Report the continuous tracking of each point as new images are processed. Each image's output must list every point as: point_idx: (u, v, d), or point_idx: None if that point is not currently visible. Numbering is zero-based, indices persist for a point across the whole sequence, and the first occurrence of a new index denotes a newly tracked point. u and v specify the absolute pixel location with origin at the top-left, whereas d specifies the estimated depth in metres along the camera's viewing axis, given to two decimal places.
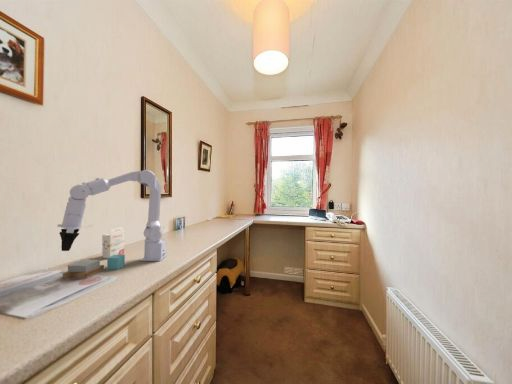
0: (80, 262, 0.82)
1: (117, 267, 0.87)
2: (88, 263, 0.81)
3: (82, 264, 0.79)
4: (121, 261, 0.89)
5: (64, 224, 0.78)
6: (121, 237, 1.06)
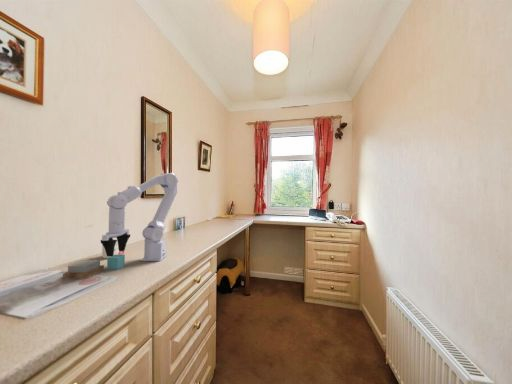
0: (80, 262, 0.82)
1: (117, 267, 0.87)
2: (88, 263, 0.81)
3: (82, 265, 0.79)
4: (121, 261, 0.89)
5: (108, 232, 0.87)
6: None
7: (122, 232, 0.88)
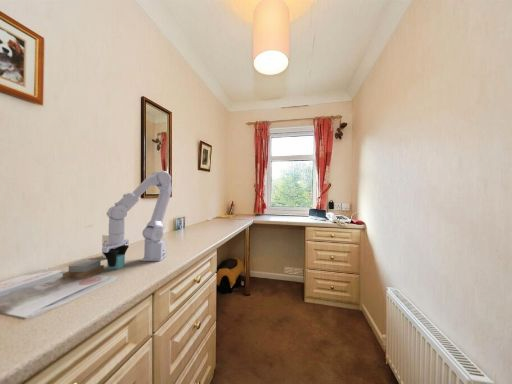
0: (81, 262, 0.82)
1: (117, 267, 0.87)
2: (89, 263, 0.81)
3: (83, 265, 0.79)
4: (121, 261, 0.89)
5: (108, 243, 0.87)
6: None
7: (122, 243, 0.88)
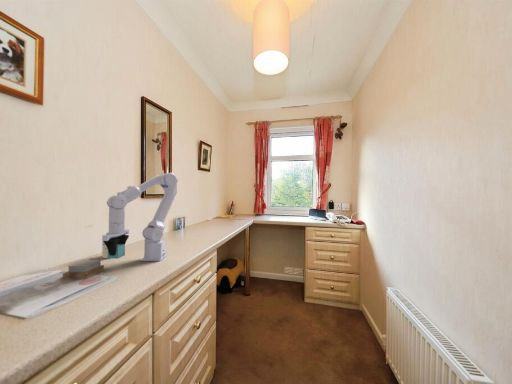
0: (81, 262, 0.82)
1: (117, 256, 0.87)
2: (89, 263, 0.81)
3: (83, 265, 0.79)
4: (121, 250, 0.89)
5: (108, 232, 0.87)
6: None
7: (122, 232, 0.88)
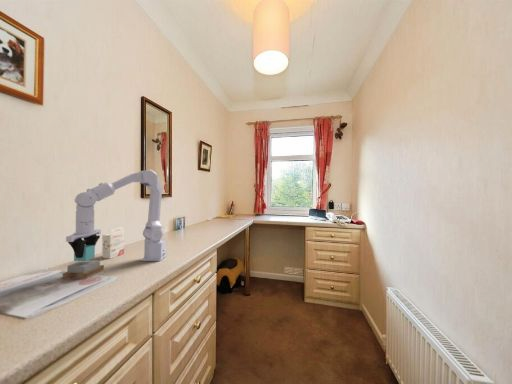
0: (80, 263, 0.81)
1: (85, 258, 0.79)
2: (88, 263, 0.81)
3: (81, 265, 0.79)
4: (90, 252, 0.82)
5: None
6: (121, 237, 1.06)
7: (91, 232, 0.81)
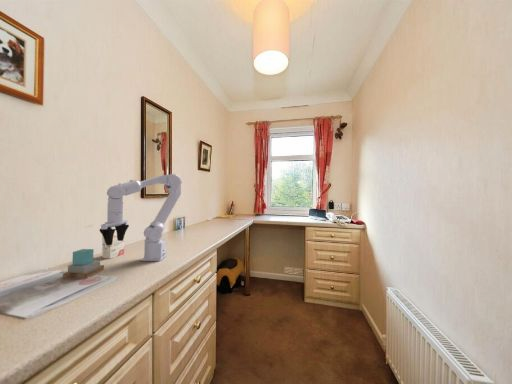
0: None
1: (83, 262, 0.79)
2: (88, 263, 0.81)
3: (81, 265, 0.79)
4: (88, 256, 0.81)
5: (107, 221, 0.89)
6: None
7: (121, 222, 0.90)
